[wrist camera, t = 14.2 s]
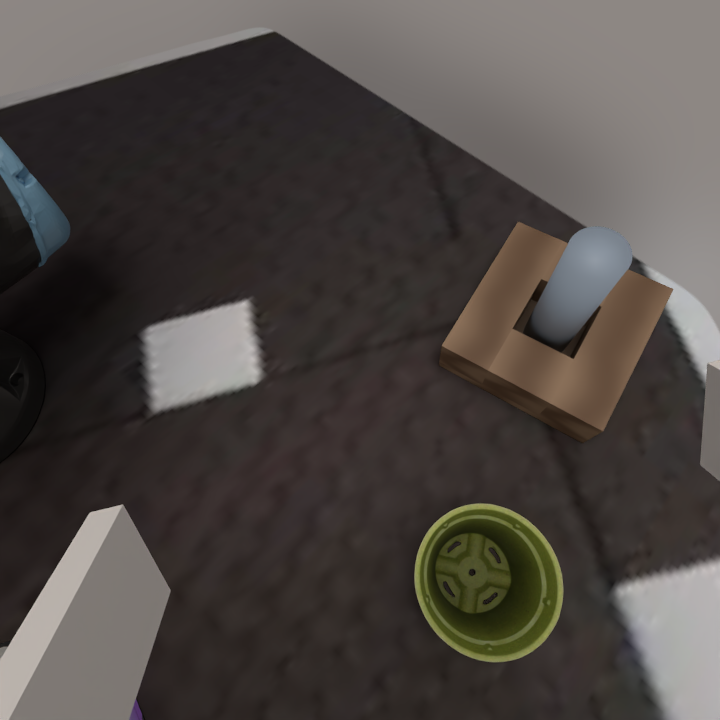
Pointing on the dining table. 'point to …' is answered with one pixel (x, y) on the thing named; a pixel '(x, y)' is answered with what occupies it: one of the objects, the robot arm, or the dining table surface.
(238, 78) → the dining table surface
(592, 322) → the bore block
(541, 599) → the plant pot
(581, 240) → the dowel
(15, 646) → the robot arm
